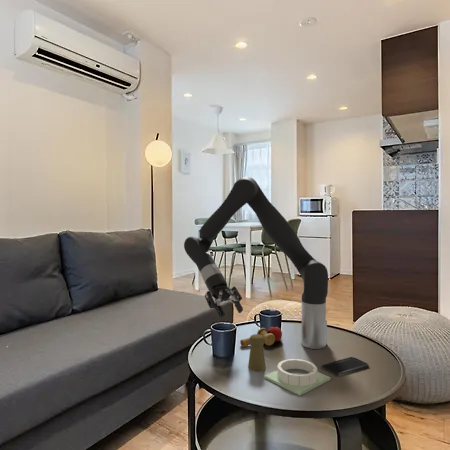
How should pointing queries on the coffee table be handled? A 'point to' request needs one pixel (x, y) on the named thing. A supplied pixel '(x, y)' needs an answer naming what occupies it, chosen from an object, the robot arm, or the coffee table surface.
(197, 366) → the coffee table surface
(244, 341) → the kendama
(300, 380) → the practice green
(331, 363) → the phone
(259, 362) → the cork
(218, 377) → the coffee table surface
